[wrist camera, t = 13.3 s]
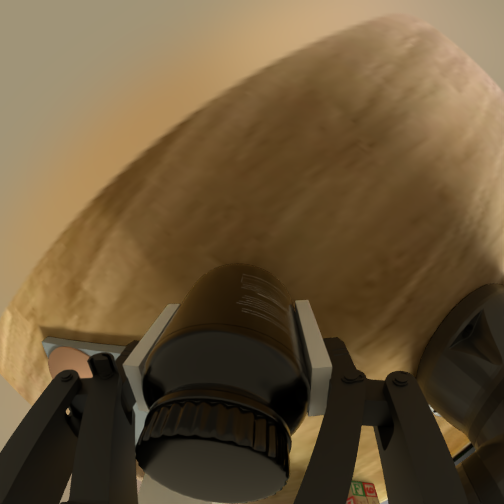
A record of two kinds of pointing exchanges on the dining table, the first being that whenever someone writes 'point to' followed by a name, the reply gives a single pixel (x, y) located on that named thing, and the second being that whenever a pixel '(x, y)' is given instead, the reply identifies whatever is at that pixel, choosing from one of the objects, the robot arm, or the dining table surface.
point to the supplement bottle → (225, 390)
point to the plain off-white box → (163, 494)
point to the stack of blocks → (362, 493)
